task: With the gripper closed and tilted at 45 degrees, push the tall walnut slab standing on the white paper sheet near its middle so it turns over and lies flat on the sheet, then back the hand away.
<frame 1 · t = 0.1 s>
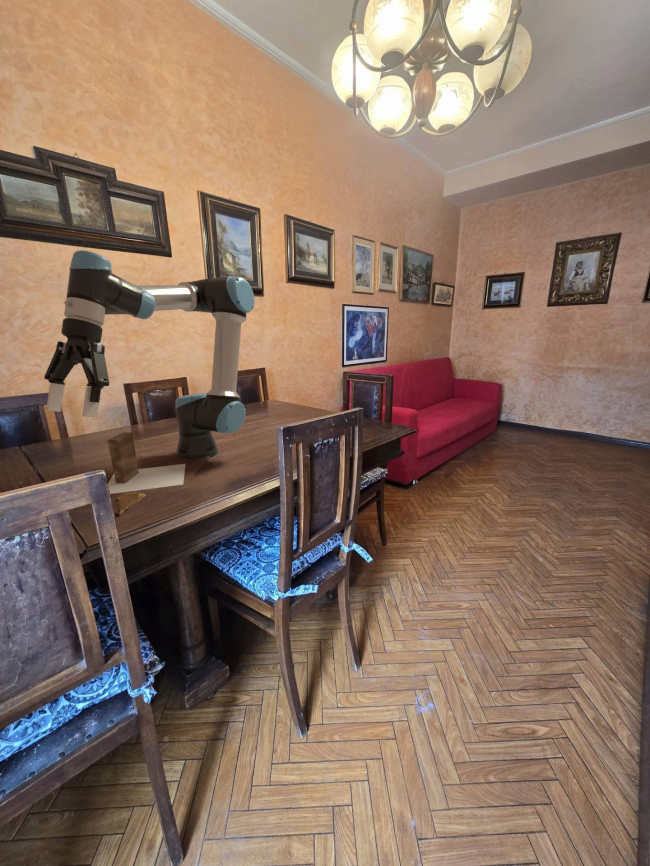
hand: (70, 414, 80), 28 cm above the table, tool tilted 20°, fingers open, 13 cm apart
shard: (132, 505, 97), on the table
walnut slab: (127, 477, 111), point 1 cm above the table, touching white paper sheet
white paper sheet: (148, 480, 112), on the table
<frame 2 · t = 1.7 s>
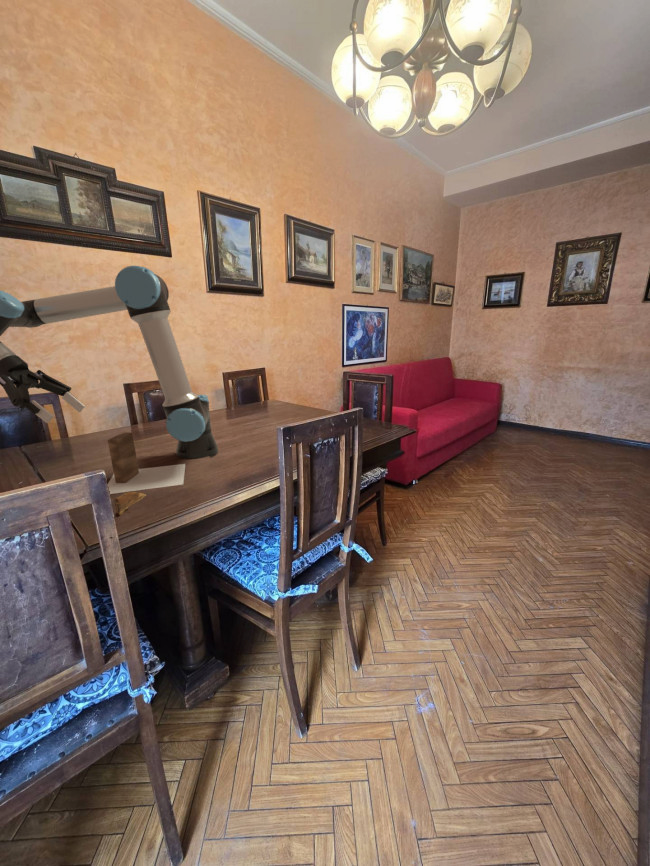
hand: (67, 414, 105), 22 cm above the table, tool tilted 45°, fingers open, 13 cm apart
nothing on the table moved.
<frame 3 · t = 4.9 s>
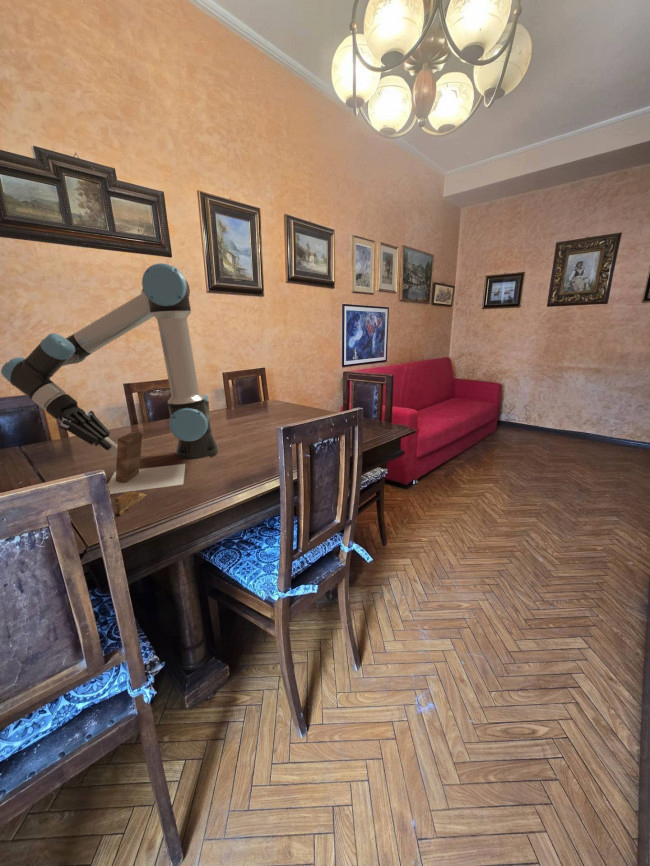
hand: (120, 454, 109), 9 cm above the table, tool tilted 45°, fingers closed
walnut slab: (127, 476, 111), point 1 cm above the table, tilted 13°, touching white paper sheet
everything else where it was.
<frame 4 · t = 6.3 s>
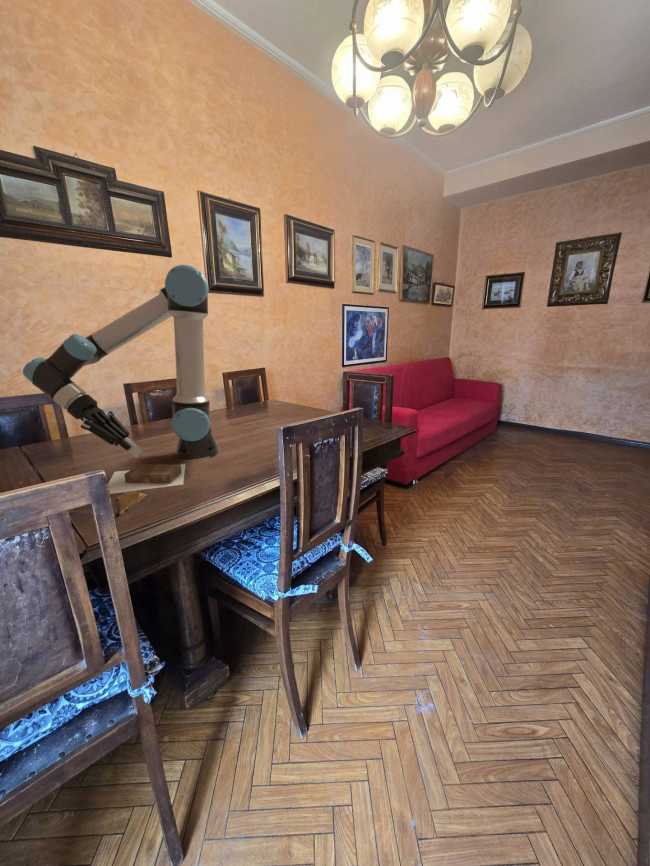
hand: (140, 454, 109), 9 cm above the table, tool tilted 45°, fingers closed
walnut slab: (132, 473, 111), point 2 cm above the table, tilted 90°, touching white paper sheet
everything else where it was.
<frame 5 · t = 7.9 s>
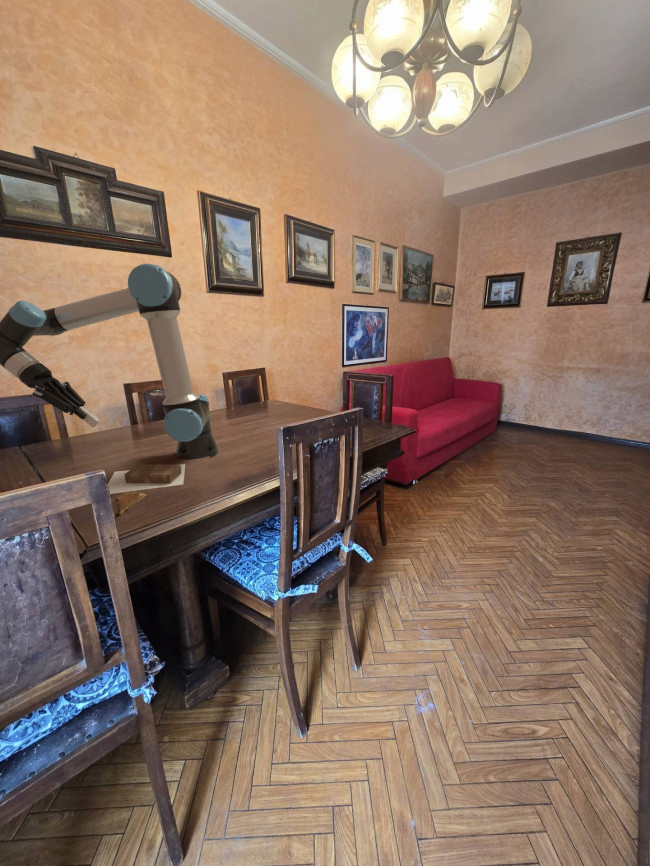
hand: (96, 423, 109), 18 cm above the table, tool tilted 45°, fingers closed
nothing on the table moved.
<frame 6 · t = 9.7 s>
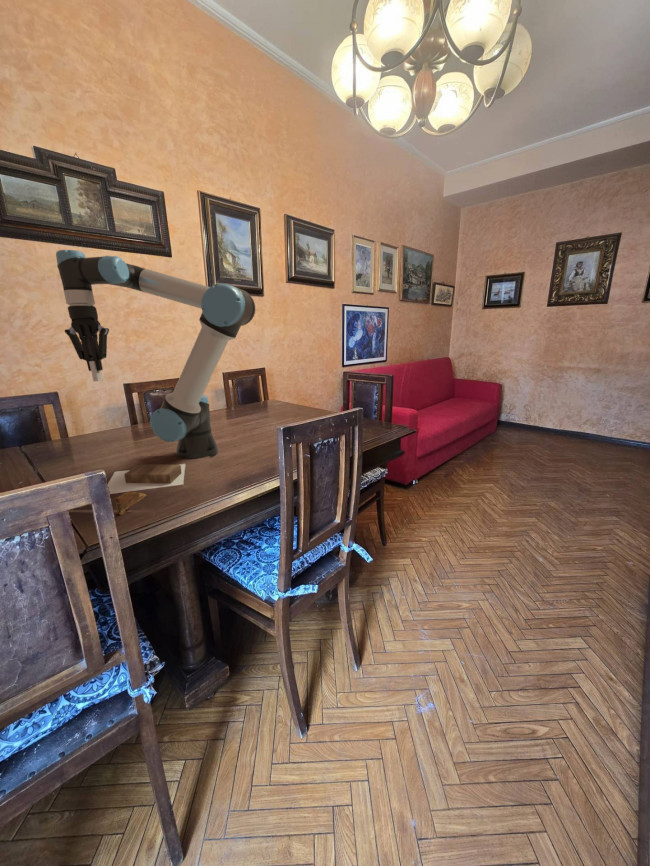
hand: (98, 380, 116), 30 cm above the table, tool pointing down, fingers closed
nothing on the table moved.
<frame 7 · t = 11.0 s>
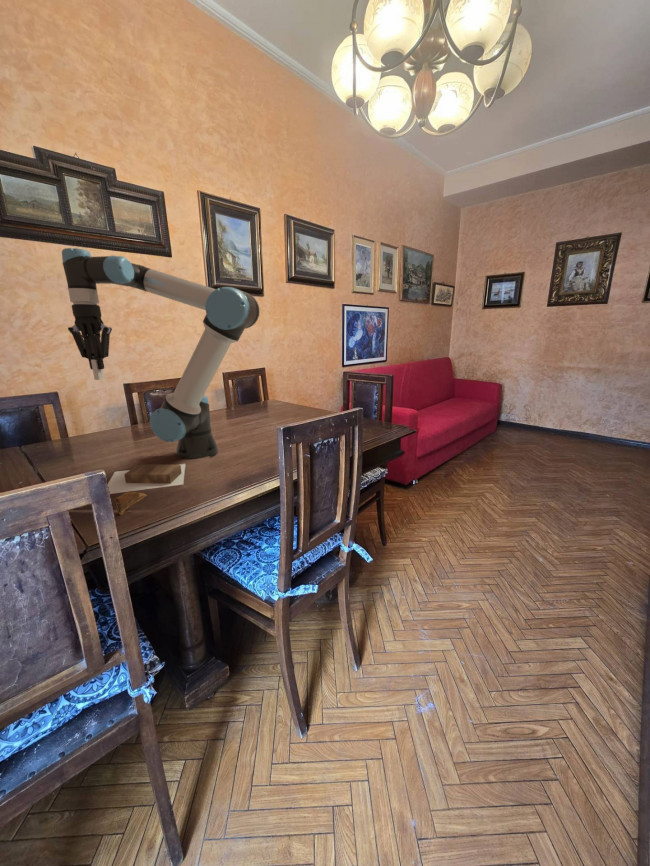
hand: (99, 379, 116), 30 cm above the table, tool pointing down, fingers closed
nothing on the table moved.
at the end: walnut slab tilted 90°; walnut slab touching white paper sheet; walnut slab inside the target area (3.5 cm from its centre), point 2.3 cm above the table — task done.
